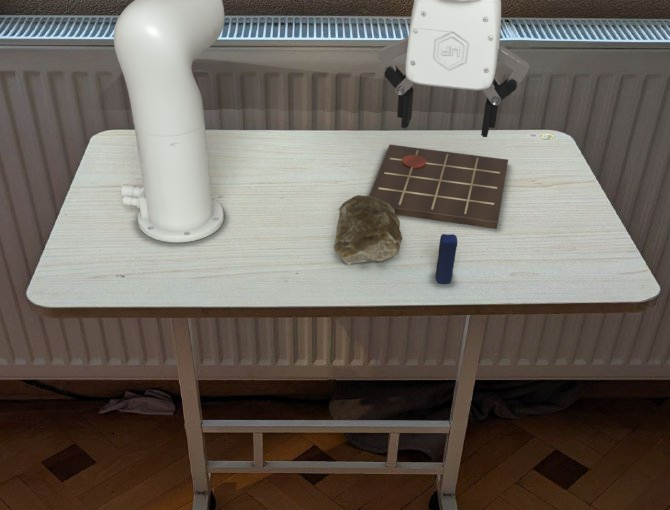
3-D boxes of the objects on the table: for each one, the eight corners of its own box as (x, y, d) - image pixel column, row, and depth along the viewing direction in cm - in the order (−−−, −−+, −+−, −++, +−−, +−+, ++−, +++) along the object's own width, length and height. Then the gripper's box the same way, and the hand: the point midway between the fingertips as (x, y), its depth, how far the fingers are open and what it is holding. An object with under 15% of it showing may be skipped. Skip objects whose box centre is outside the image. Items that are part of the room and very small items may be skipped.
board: (365, 210, 127) (366, 202, 126) (389, 150, 141) (389, 143, 140) (496, 229, 124) (498, 220, 123) (507, 166, 138) (508, 158, 137)
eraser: (434, 274, 115) (440, 232, 110) (451, 275, 115) (457, 233, 110) (435, 284, 114) (441, 241, 109) (451, 284, 114) (458, 242, 109)
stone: (326, 212, 123) (361, 174, 118) (366, 240, 126) (401, 204, 122) (330, 263, 114) (368, 223, 110) (373, 291, 117) (412, 253, 113)
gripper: (374, -21, 88) (369, 133, 99) (540, -7, 85) (514, 150, 96) (388, -42, 93) (381, 107, 105) (545, -29, 90) (520, 122, 102)
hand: (445, 127), depth 100 cm, fingers open, 9 cm apart
